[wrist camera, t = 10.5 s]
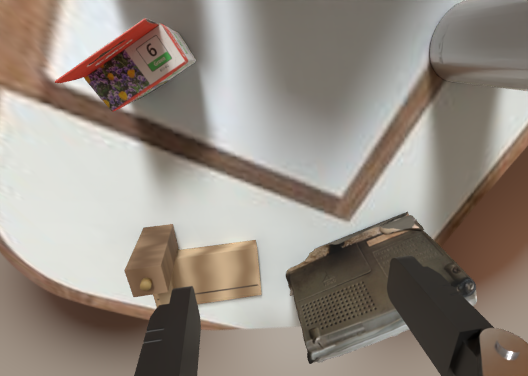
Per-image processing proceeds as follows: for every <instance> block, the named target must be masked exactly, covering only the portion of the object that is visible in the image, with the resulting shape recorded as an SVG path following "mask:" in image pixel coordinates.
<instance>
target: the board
mask: <svg viewBox="0 0 528 376" xmlns="http://www.w3.org/2000/svg"><path fill="white" fill-rule="evenodd" d="M172 278H173V282H174V285H175V288H181V287H188V286H193V288H194V292H195V296H196V301H197V304H202V303H209V302H215V301H222V300H229V299H235V298H242V297H249V296H256V295H261V285H260V274H259V264H258V253H257V245H256V240H252V241H244V242H237V243H229V244H222V245H214V246H206V247H199V248H191V249H184V250H177V255H176V259H175V264H174V268H173V273H172ZM153 296H154V299H155V303H156V306H157V307H158V306H159V305H161V304H160V300H159V297H158V294H153Z"/></svg>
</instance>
